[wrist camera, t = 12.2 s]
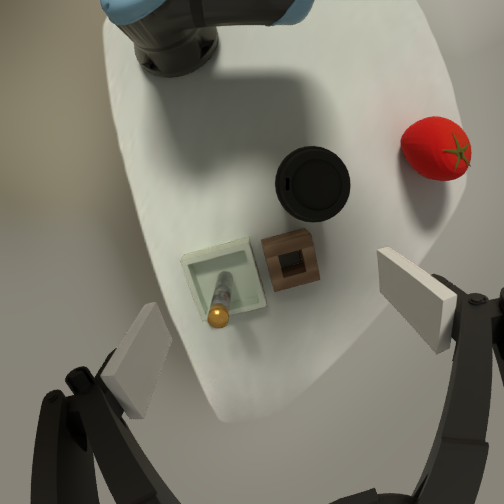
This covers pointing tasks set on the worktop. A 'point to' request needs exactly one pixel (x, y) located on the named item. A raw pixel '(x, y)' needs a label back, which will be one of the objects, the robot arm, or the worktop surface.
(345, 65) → the worktop surface
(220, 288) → the pin
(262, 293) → the tray
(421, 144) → the tomato
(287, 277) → the socket block
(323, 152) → the coffee cup
